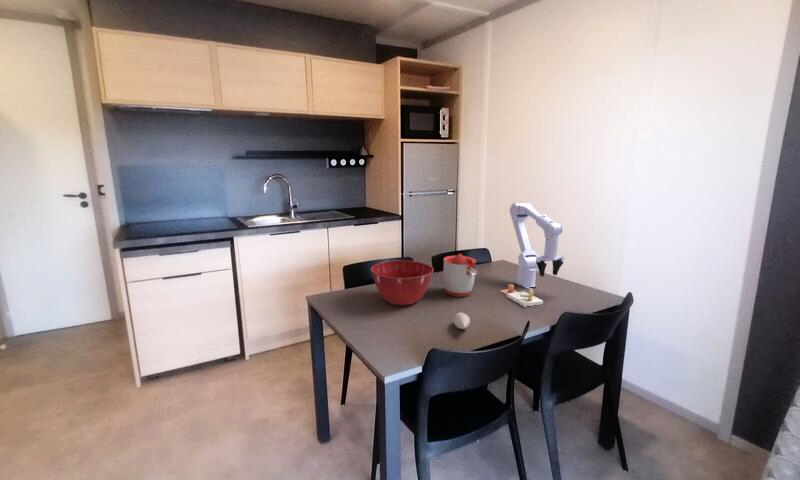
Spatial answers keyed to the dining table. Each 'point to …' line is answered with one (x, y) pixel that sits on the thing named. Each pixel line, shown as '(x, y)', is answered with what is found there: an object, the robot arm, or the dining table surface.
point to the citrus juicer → (459, 275)
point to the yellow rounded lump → (530, 296)
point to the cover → (509, 289)
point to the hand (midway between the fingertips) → (548, 275)
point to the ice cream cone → (461, 321)
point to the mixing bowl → (402, 280)
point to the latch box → (524, 299)
